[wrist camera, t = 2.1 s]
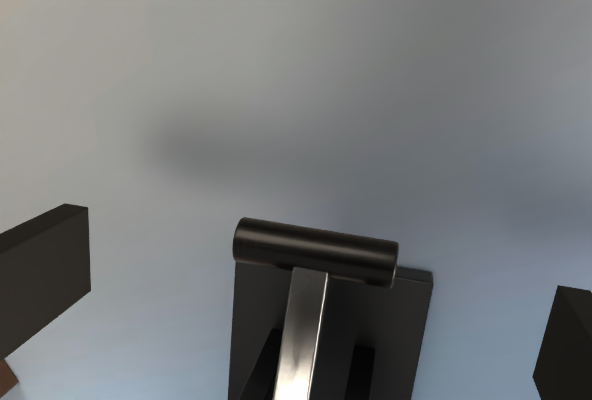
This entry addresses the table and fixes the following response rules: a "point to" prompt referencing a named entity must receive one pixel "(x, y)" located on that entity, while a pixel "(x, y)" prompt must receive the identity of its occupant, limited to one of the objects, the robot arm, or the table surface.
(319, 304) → the lever
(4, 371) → the button block
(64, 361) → the table surface
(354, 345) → the bracket
